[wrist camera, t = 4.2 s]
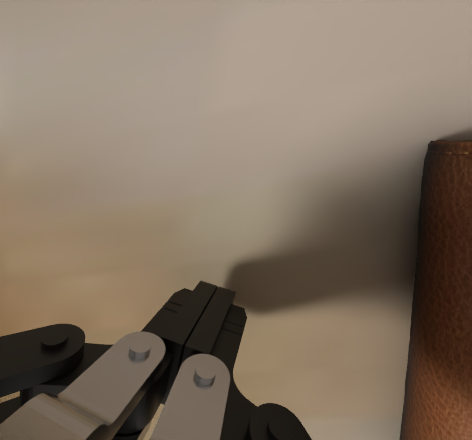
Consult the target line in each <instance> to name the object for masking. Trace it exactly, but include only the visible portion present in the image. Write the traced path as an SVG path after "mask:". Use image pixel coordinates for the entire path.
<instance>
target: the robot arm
mask: <svg viewBox="0 0 472 440" xmlns="http://www.w3.org/2000/svg"><path fill="white" fill-rule="evenodd" d="M234 297H235V292H234V291H231V290H228V289H225V288H222V287H218V286H216V285H213V284H210V283H206V282H203V281H200V282H199V284H198V285H197V286H196V288H195V289H194V290H193V291H191V290H188V289H185V288H184V289H182V290H180V291H178V292H176V293H174V294H173V295H172V296H171V298H170V299H169V300H168V302H166V303H165V304H164V306H163V307H162V308H161V309H160V310H159V311H158V312H157V314H156V315H155V316H154V317H153V318H152V319H151V321H150V322H149V323H148V324H147V325H146V326H145V327H144V329H143V330H142V331H141V332H134V333H130V334H128V335H125V336H124V337H122V338H121V339H120V340H118V341H117V342H116V343H115V344H114V345H103V344H91V343H85V334H84V332H83V330H82V329H81V328H79V327H77V326H75V325H71V324H55V325H50V326H46V327H41V328H37V329H32V330H28V331H24V332H19V333H15V334H10V335H6V336H2V337H0V397H3V396H6V395H9V394H12V393H15V392H18V391H20V396H19V397H16V398H14V399H11V400H8V401H5V402H2V403H0V440H143V438H144V437H145V435H146V433H147V432H148V430H149V428H150V425H151V420H152V418H153V417H154V415H155V413H156V411H157V409H158V407H159V405H160V403H161V404H164V407H163V410H162V412H161V414H160V417H159V419H158V421H157V424H156V426H155V428H154V431H153V433H152V435H151V438H150V439H149V440H312V439H311V438H310V436H309V434H308V433H307V431H306V430H305V428H304V427H303V425H302V424H301V422H300V421H299V419H298V418H297V417H296V416H295V415H294V414H293V413H292V412H291V411H290V410H288V409H287V408H285V407H283V406H281V405H278V404H274V403H266V404H262V405H260V406H259V407H257V406H255V405H254V404H253V403H251V402H250V401H249V400H248V399H246V398H245V397H244V396H243V395H242V394H241V393H240V391H239V390H238V388H237V387H236V385H235V382H234V379H233V368H234V364H235V360H236V356H237V353H238V349H239V345H240V342H241V338H242V334H243V331H244V327H245V323H246V320H247V316H246V313H245V310H244V308H242V307H239V306H236V305H233V300H234Z"/></svg>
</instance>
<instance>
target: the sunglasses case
mask: <svg viewBox="0 0 472 440" xmlns="http://www.w3.org/2000/svg"><path fill="white" fill-rule="evenodd" d="M400 440H472V140H462V141H447V140H436V141H431V142H430V143H429V144H428V149H427V153H426V157H425V161H424V168H423V176H422V185H421V199H420V208H419V222H418V246H417V263H416V273H415V282H414V292H413V303H412V316H411V329H410V343H409V351H408V364H407V372H406V380H405V397H404V406H403V415H402V424H401V433H400Z"/></svg>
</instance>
